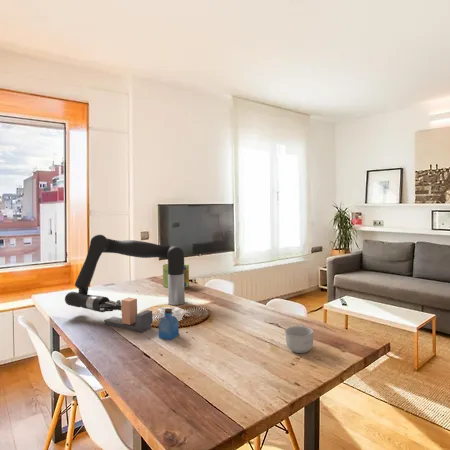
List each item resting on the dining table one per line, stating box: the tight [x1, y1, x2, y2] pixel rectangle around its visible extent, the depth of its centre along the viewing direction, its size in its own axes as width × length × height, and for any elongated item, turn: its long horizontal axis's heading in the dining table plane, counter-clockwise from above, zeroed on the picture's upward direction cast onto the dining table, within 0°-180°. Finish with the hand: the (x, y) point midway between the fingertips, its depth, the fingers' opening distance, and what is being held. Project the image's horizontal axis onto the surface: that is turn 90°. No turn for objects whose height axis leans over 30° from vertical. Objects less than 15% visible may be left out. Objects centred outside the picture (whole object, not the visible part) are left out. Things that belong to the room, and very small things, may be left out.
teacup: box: [284, 324, 314, 354], centre depth 137 cm, size 14×11×8 cm
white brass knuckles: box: [157, 306, 191, 321], centre depth 177 cm, size 3×18×15 cm
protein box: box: [162, 263, 190, 289], centre depth 240 cm, size 10×15×16 cm
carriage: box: [120, 297, 138, 325], centre depth 163 cm, size 6×5×11 cm
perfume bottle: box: [158, 309, 180, 341], centre depth 151 cm, size 6×6×12 cm
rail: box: [103, 309, 153, 333], centre depth 164 cm, size 24×8×8 cm, turn 62°
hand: (123, 308), depth 164 cm, fingers closed
